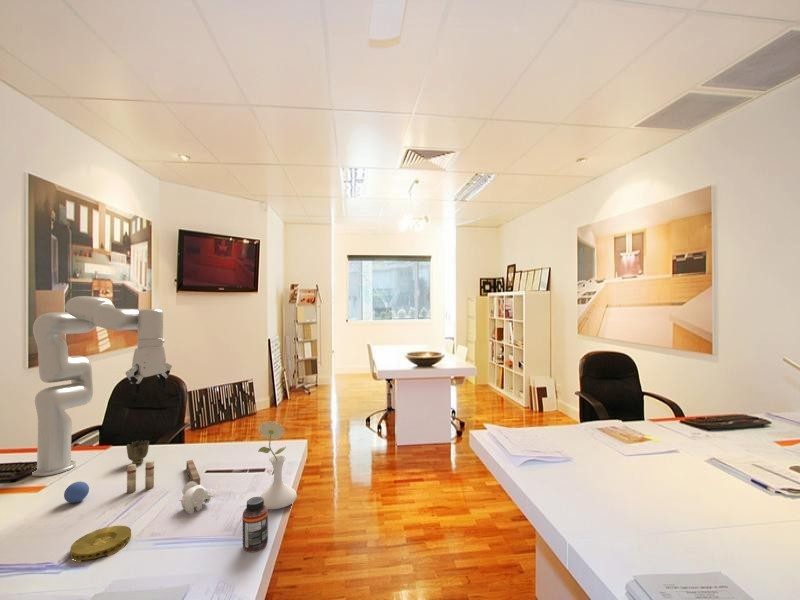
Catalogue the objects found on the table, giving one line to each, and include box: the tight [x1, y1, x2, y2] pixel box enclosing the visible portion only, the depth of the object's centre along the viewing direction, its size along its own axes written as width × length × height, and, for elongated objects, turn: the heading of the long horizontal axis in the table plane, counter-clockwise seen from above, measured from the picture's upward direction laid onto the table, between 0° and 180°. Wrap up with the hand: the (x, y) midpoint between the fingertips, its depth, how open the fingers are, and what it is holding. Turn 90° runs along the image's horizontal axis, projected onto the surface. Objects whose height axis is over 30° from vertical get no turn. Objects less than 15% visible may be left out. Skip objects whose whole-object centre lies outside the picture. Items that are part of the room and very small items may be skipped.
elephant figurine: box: [178, 480, 215, 514], centre depth 113 cm, size 8×10×7 cm
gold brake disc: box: [69, 525, 132, 562], centre depth 95 cm, size 12×12×2 cm
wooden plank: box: [185, 459, 201, 485], centre depth 135 cm, size 20×2×3 cm, turn 36°
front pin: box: [126, 463, 137, 494], centre depth 124 cm, size 2×2×8 cm
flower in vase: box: [257, 420, 298, 510], centre depth 116 cm, size 13×11×25 cm
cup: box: [125, 439, 150, 466], centre depth 148 cm, size 8×7×8 cm
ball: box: [63, 481, 90, 504], centre depth 118 cm, size 6×6×6 cm
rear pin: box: [144, 460, 155, 491], centre depth 127 cm, size 2×2×8 cm
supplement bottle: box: [242, 496, 269, 553], centre depth 94 cm, size 6×6×11 cm
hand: (149, 392), depth 133 cm, fingers open, 9 cm apart
